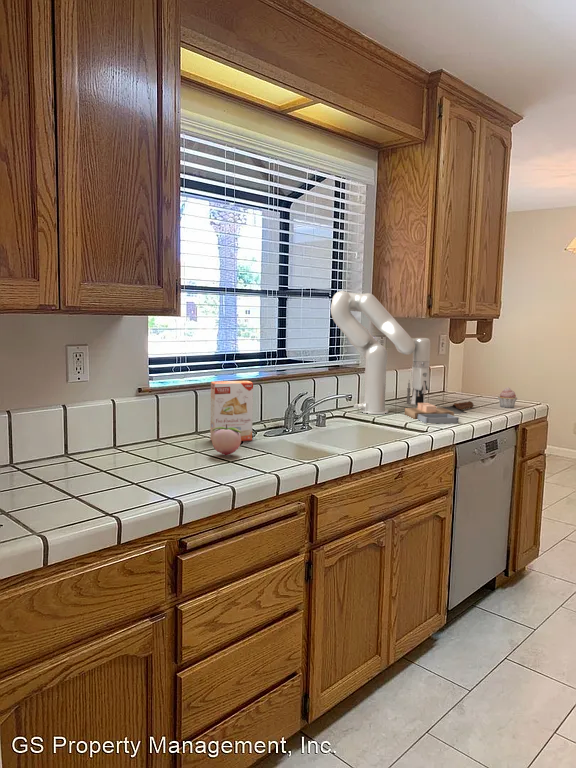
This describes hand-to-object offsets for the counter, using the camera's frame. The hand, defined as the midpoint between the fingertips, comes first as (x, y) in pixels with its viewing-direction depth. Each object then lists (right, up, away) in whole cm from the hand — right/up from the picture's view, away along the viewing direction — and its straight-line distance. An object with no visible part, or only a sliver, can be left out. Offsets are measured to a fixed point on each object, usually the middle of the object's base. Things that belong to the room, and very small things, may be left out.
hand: (419, 404), depth 263 cm
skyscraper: (+5, -1, +25) cm, 26 cm away
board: (+2, -5, -8) cm, 10 cm away
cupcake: (+49, -2, +23) cm, 54 cm away
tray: (+3, -6, -20) cm, 21 cm away
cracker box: (-80, -11, -61) cm, 101 cm away
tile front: (+2, -2, -11) cm, 12 cm away
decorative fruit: (-80, -13, -83) cm, 116 cm away
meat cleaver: (+20, -4, +6) cm, 21 cm away
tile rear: (+1, -2, -6) cm, 6 cm away
